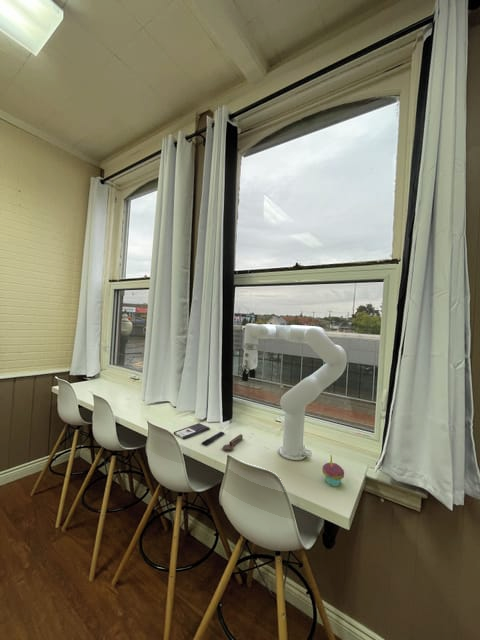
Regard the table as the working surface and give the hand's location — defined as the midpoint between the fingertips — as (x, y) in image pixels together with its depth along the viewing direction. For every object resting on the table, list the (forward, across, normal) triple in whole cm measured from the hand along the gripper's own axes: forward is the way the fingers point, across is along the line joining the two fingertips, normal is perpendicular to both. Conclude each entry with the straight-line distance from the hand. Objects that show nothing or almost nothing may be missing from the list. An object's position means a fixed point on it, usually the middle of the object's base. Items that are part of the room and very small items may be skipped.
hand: (248, 379), depth 140 cm
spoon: (+33, -7, +3) cm, 34 cm away
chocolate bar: (+33, -5, +30) cm, 45 cm away
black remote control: (+33, -6, +15) cm, 37 cm away
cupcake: (+32, -15, -46) cm, 58 cm away
